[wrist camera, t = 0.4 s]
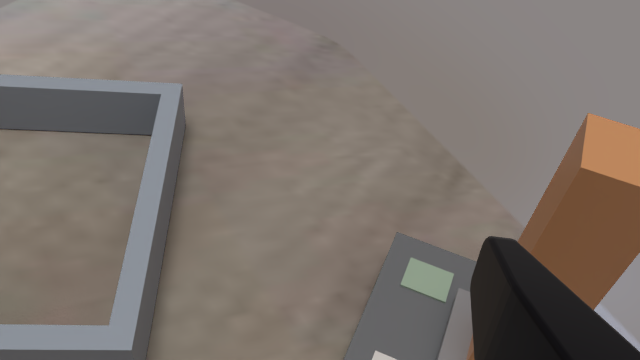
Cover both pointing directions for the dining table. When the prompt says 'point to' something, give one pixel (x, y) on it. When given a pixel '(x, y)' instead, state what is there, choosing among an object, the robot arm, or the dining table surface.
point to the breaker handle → (577, 223)
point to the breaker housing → (410, 302)
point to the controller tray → (150, 213)
